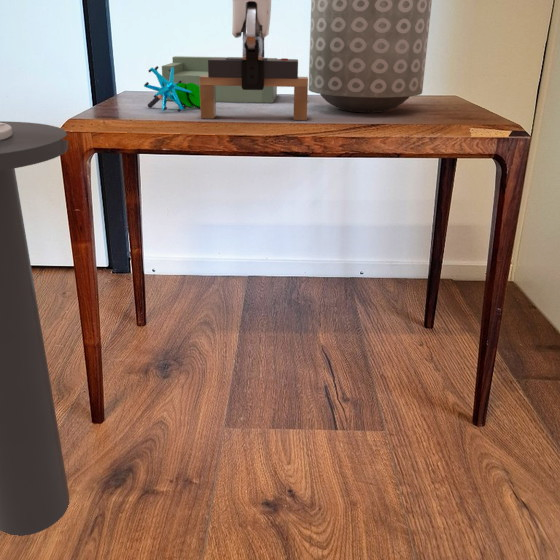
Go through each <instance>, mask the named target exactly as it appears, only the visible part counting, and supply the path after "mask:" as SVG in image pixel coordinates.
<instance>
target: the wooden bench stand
mask: <svg viewBox="0 0 560 560" xmlns="http://www.w3.org/2000/svg"><path fill="white" fill-rule="evenodd" d="M199 82H200V107H201V108H200V119H203V120H204V119H205V120H206V119H207V120H208V119H209V120H210V119H211V120H215V118H216V117H217V102H216V87H215V86H242V78H217V77H208V75H202V76H200V77H199ZM264 86H273V87H277V88H281V87H282V88H285V87H286V88H293V121H307V120H308V99H309V98H308V97H309V95H308V94H309V76H298V79H274V78H264Z"/></svg>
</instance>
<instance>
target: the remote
mask: <svg viewBox="0 0 560 560" xmlns="http://www.w3.org/2000/svg"><path fill="white" fill-rule="evenodd" d="M226 57H227V58H211V59H209V60H208V77H217V78H242V69H241V60H243V56H226ZM268 58H269V57H264V58H262V61H264V78H274V79H298V77H299V59H297V58H286V57H285V58H282V57H281V58H277V59H268Z"/></svg>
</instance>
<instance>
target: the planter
mask: <svg viewBox="0 0 560 560" xmlns="http://www.w3.org/2000/svg"><path fill="white" fill-rule="evenodd" d="M432 3H433V0H310V25H309V26H310V31H309V59H308V60H309V62H308V65H309V66H308V92H311V93H314V94H318V95H320V96H321V97H322V99H323V100H325V102H327V103H328V104H330V105H331V106H333V107H335V108H337V109H339V110H342V111H346V112H352V113H382V112H387V111H390V110H393V109H394V108H397V107H399V106H401V105H402V104H404V103H405V102H406V101H407V100H408V99H409V98H410V97H417V96H419V95H422V94H423V88H424V78H425V70H426V60H427V51H428V42H429V34H430V33H429V31H430V24H431V23H430V22H431V12H432Z"/></svg>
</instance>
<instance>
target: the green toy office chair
mask: <svg viewBox="0 0 560 560" xmlns="http://www.w3.org/2000/svg"><path fill="white" fill-rule="evenodd" d="M158 69H160V68H159V66H158V65H156V66H155V67H151V68H149V69H148V73H151V72H152V73H153V75H155V76H156V79H157V81H158V83H159V86H160V87H159V86H156V85H152V84H150V83H149V82H148V81H147V82H145V83H144V84H143V87H144V88H147V89H148V90H149V89H150V90H153V91H156V93H155V94H154V95H153V99H151V100H150V101H149V102H148V103H147V107H148V108H149V109H152V108H153V107H154V106H155V105H156V104H157V103H158V102H159V101H160V100H162V104H161V105H162V106H161V108H162V109H161V111H162V112H165V111H166V110H167V109H168V107H167V102H168V101H167V96H168V97H169V98H170V99H172V100H173V101H172V102H174V103H175V104H176V105H177V107H178V109H177V112H179V113H180V112H182V111H183V110H185V109H186V108H187V109H193V108H197V109H201V107H200V87H199V86H198V85H196V84H194V83H188V84H185V83H182V81H179V82H178V83H176V84H175V83H174V82H173V81H174V68H173V67H172V68H171V69H170V70H169V72H170V78H169V81H167V80H166V79H165V78H164V77H163V76H162V74H161V73H160V72H159V70H158ZM165 85H166V86H165ZM170 91H171V93H172V94H171V93H170Z"/></svg>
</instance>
